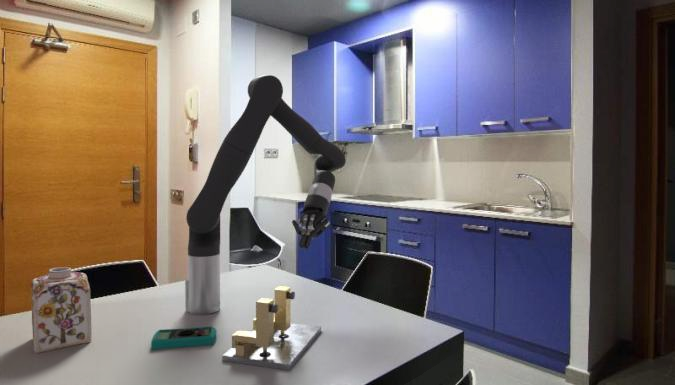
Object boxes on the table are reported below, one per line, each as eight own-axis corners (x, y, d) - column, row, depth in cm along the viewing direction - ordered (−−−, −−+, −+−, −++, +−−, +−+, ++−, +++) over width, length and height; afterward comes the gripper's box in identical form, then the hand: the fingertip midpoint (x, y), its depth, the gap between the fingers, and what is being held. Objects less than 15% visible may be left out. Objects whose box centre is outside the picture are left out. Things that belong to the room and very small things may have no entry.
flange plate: (222, 360, 95) (222, 355, 95) (265, 324, 117) (265, 320, 117) (289, 370, 91) (289, 364, 91) (321, 331, 113) (321, 326, 113)
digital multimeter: (215, 347, 103) (215, 335, 103) (150, 352, 100) (149, 339, 100) (217, 335, 110) (217, 324, 110) (156, 340, 107) (156, 328, 107)
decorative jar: (32, 338, 107) (30, 267, 106) (85, 328, 114) (84, 261, 113) (34, 354, 97) (31, 277, 96) (92, 342, 104) (90, 270, 103)
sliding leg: (253, 334, 106) (252, 287, 105) (258, 330, 109) (258, 284, 108) (291, 339, 103) (291, 290, 102) (295, 334, 106) (295, 287, 105)
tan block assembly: (229, 355, 95) (229, 300, 94) (270, 321, 116) (270, 277, 115) (272, 361, 92) (272, 305, 92) (305, 325, 113) (306, 279, 113)
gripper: (294, 194, 134) (278, 241, 124) (332, 192, 128) (317, 241, 118) (305, 208, 139) (289, 254, 129) (341, 206, 133) (328, 254, 123)
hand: (303, 248), depth 124 cm, fingers closed
